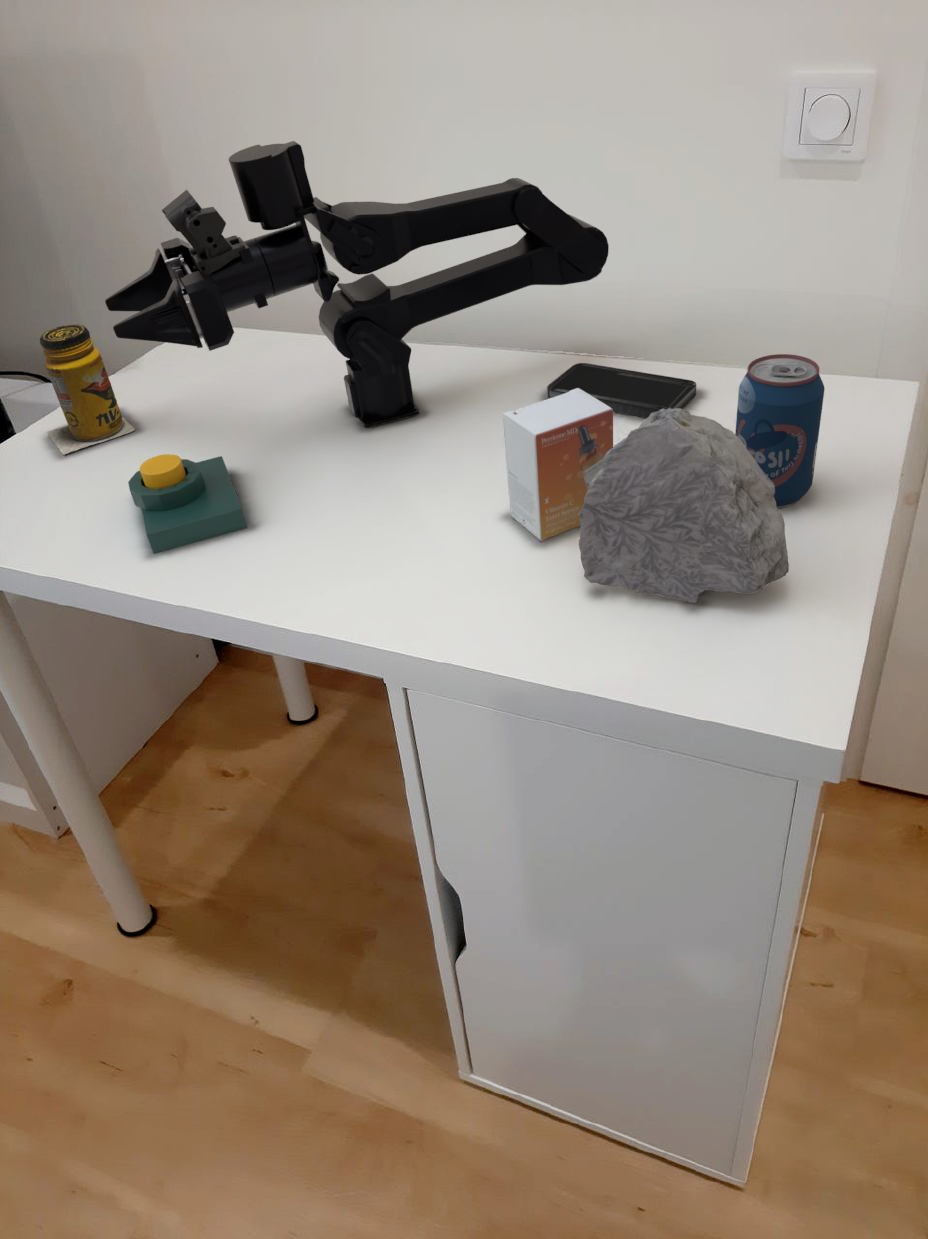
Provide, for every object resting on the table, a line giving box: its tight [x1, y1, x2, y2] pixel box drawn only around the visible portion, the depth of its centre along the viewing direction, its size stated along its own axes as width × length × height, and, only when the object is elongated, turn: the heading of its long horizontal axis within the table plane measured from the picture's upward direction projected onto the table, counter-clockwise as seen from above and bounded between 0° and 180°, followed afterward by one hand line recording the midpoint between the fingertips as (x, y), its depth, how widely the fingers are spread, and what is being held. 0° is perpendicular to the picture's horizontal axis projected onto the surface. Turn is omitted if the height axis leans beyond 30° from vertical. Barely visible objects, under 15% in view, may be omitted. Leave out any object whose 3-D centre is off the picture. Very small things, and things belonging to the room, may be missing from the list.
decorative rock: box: [578, 408, 790, 604], centre depth 75 cm, size 16×7×15 cm, turn 68°
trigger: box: [139, 453, 186, 489], centre depth 94 cm, size 4×4×2 cm
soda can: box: [734, 353, 825, 509], centre depth 85 cm, size 7×7×12 cm
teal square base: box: [127, 455, 248, 555], centre depth 95 cm, size 10×12×4 cm
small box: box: [501, 388, 614, 541], centre depth 86 cm, size 8×6×10 cm
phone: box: [546, 362, 697, 419], centre depth 107 cm, size 8×1×15 cm
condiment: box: [39, 323, 136, 456], centre depth 110 cm, size 7×8×12 cm
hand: (110, 318), depth 94 cm, fingers open, 9 cm apart
